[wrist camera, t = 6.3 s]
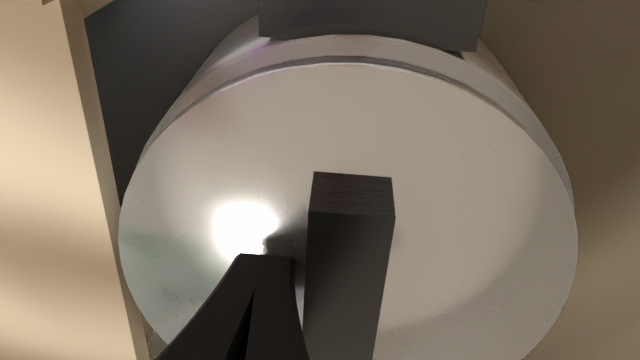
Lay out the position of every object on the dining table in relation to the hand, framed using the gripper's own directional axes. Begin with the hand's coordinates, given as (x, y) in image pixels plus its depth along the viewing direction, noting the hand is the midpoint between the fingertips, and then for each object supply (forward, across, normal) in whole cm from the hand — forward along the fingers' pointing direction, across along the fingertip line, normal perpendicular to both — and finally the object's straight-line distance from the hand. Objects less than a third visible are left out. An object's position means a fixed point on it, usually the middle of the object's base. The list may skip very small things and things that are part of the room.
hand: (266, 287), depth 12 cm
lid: (+1, -2, 0) cm, 2 cm away
